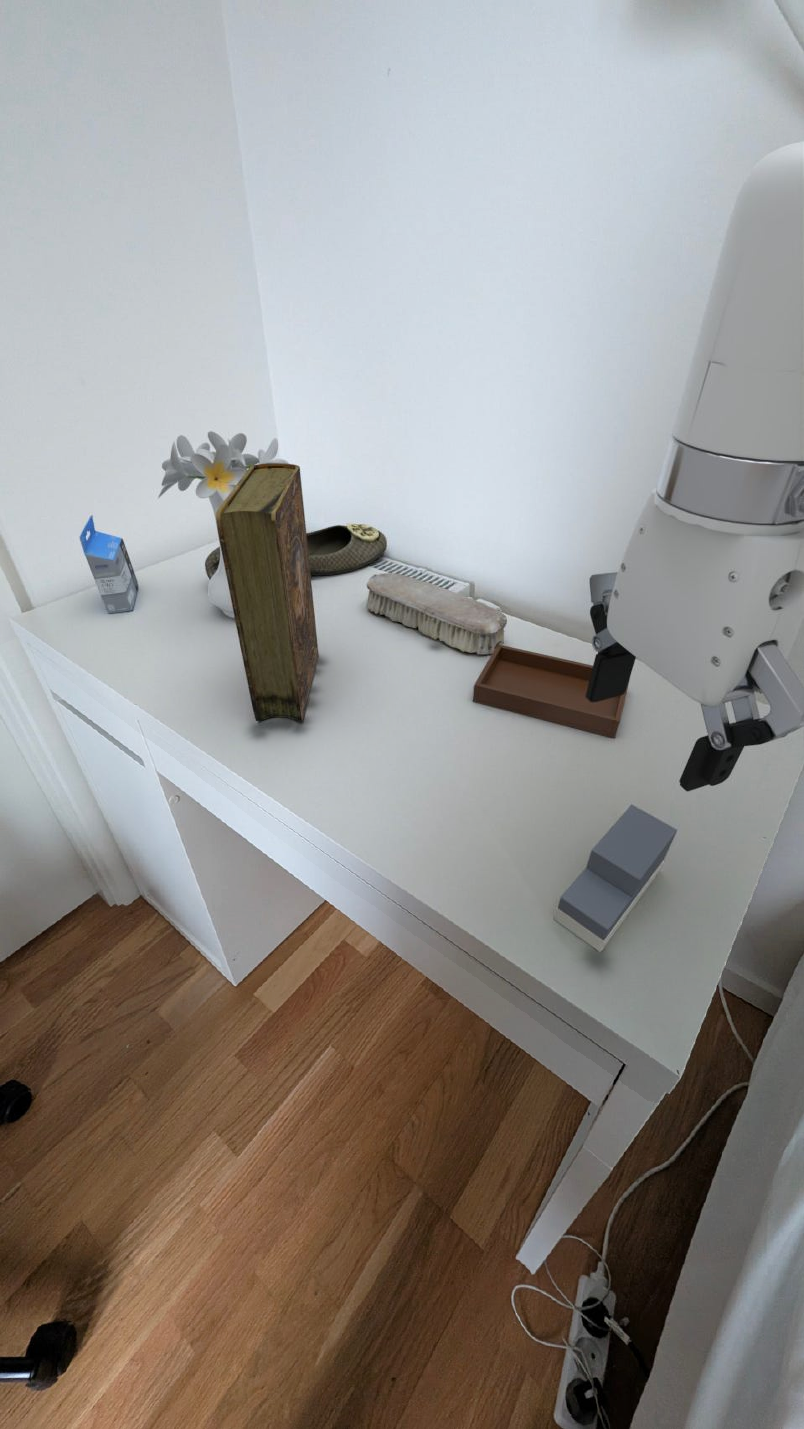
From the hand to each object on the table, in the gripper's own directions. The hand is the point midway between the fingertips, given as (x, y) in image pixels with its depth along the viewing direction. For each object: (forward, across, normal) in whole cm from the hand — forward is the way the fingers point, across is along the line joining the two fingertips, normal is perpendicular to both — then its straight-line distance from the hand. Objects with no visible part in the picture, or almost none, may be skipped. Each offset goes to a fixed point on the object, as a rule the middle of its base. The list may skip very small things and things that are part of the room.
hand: (648, 736), depth 40 cm
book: (+18, +40, +18) cm, 47 cm away
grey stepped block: (+18, -1, -1) cm, 18 cm away
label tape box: (+18, +72, +38) cm, 83 cm away
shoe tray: (+18, +26, -12) cm, 33 cm away
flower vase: (+18, +63, +20) cm, 68 cm away
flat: (+18, +73, +8) cm, 76 cm away
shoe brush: (+18, +47, -5) cm, 50 cm away
